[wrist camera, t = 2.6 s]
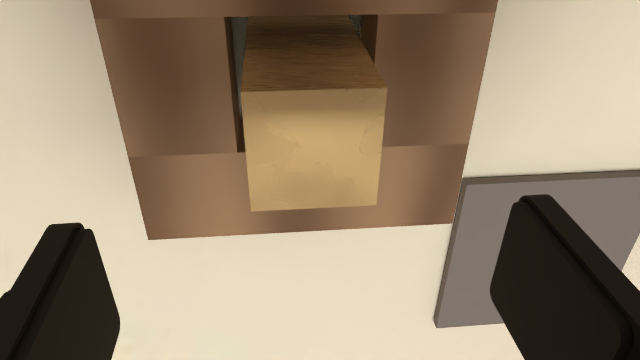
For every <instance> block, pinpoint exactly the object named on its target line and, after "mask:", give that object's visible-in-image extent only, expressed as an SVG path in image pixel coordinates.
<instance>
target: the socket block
mask: <svg viewBox="0 0 640 360" xmlns="http://www.w3.org/2000/svg"><path fill="white" fill-rule="evenodd" d="M90 2H91V6H92V10H93V14H94V19H95V23H96V27H97V31H98V35H99V39H100V43H101V47H102V51H103V56H104V60H105V64H106V68H107V72H108V76H109V80H110V84H111V88H112V93H113V97H114V101H115V105H116V109H117V113H118V117H119V121H120V125H121V130H122V134H123V138H124V142H125V146H126V150H127V154H128V158H129V162H130V166H131V171H132V175H133V179H134V183H135V187H136V191H137V195H138V199H139V203H140V208H141V212H142V216H143V220H144V224H145V228H146V232H147V236H148V240H157V239H175V238H193V237H212V236H230V235H248V234H267V233H285V232H303V231H322V230H340V229H358V228H377V227H395V226H413V225H432V224H450V223H452V222H453V217H454V212H455V208H456V203H457V198H458V193H459V188H460V183H461V178H462V173H463V168H464V164H465V159H466V154H467V149H468V144H469V139H470V134H471V129H472V125H473V120H474V115H475V110H476V105H477V100H478V95H479V90H480V85H481V81H482V76H483V71H484V66H485V61H486V56H487V51H488V46H489V42H490V37H491V32H492V27H493V22H494V17H495V12H496V7H497V2H498V0H90ZM313 15H363V17H362V34H361V41H362V43H363V45H364V47H365V48H366V50H367V52H368V54H369V56H370V57H371V59H372V61H373V63H374V65H375V66H376V68H377V70H378V72H379V74H380V75H381V77H382V79H383V81H384V83H385V84H386V86H387V97H386V108H385V119H384V130H383V141H382V151H381V162H380V173H379V184H378V194H377V205H371V206H351V207H332V208H312V209H292V210H272V211H253V212H251V208H250V196H249V185H248V173H247V161H246V150H245V138H244V127H243V120H240V111H239V100H238V89H237V78H236V67H235V56H234V45H233V34H232V22H231V17H249V16H313Z"/></svg>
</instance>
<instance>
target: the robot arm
mask: <svg viewBox="0 0 640 360" xmlns="http://www.w3.org/2000/svg"><path fill="white" fill-rule="evenodd" d="M490 296H491V299H492V302H493V304H494V305H495V307H496V309H497V311H498V313H499V314H500V316H501V318H502V320H503V322H504V323H505V325H506V327H507V329H508V331H509V332H510V334H511V336H512V338H513V340H514V341H515V343H516V345H517V347H518V349H519V350H520V352H521V354H522V356H523V357H524V359H525V360H640V291H639V290H638V289H637V288H636V287H635V286H634V285H633V284H632V283H631V281H630V280H629V279H628V278H627V277H626V276H625V275H624V274H623V273H622V272H621V271H620V270H619V268H618V267H617V266H616V265H615V264H614V263H613V262H612V261H611V260H610V259H609V258H608V257H607V255H606V254H605V253H604V252H603V251H602V250H601V249H600V248H599V247H598V246H597V245H596V244H595V243H594V241H593V240H592V239H591V238H590V237H589V236H588V235H587V234H586V233H585V232H584V231H583V230H582V228H581V227H580V226H579V225H578V224H577V223H576V222H575V221H574V220H573V219H572V218H571V217H570V215H569V214H568V213H567V212H566V211H565V210H564V209H563V208H562V207H561V206H560V205H559V204H558V203H557V201H556V200H555V199H554V198H553V197H552V196H550V195H548V194H540V195H524V196H522V197H521V198H520V199H519V201H518V202H515V203H514V204H513V205H512V207H511V211H510V214H509V218H508V222H507V225H506V229H505V233H504V236H503V240H502V244H501V247H500V251H499V255H498V259H497V262H496V266H495V270H494V273H493V277H492V281H491V284H490ZM119 330H120V317H119V313H118V310H117V307H116V304H115V301H114V297H113V294H112V291H111V288H110V284H109V281H108V278H107V275H106V272H105V268H104V265H103V262H102V259H101V256H100V252H99V249H98V246H97V243H96V240H95V236H94V234H93V231H92V230H91V229H84V227H83V225H82V224H81V223H65V224H51V225H49V226H48V227H47V229H46V230H45V232H44V234H43V235H42V237H41V239H40V241H39V242H38V244H37V246H36V247H35V249H34V251H33V253H32V254H31V256H30V258H29V259H28V261H27V263H26V264H25V266H24V268H23V270H22V271H21V273H20V275H19V276H18V278H17V280H16V281H15V283H14V285H13V287H12V288H11V290H9V291H8V292H6V293H4V294H3V296H2V297H1V298H0V360H111V358H112V355H113V352H114V348H115V345H116V342H117V338H118V335H119Z"/></svg>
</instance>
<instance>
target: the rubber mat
mask: <svg viewBox="0 0 640 360" xmlns="http://www.w3.org/2000/svg"><path fill="white" fill-rule="evenodd" d="M540 194H548V195H550V196H552V197H553V198H554V199H555V200H556V201H557V203H558V204H559V205H560V206H561V207H562V208H563V209H564V210H565V211H566V212H567V213H568V214H569V215H570V217H571V218H572V219H573V220H574V221H575V222H576V223H577V224H578V225H579V226H580V227H581V228H582V230H583V231H584V232H585V233H586V234H587V235H588V236H589V237H590V238H591V239H592V240H593V241H594V243H595V244H596V245H597V246H598V247H599V248H600V249H601V250H602V251H603V252H604V253H605V254H606V255H607V257H608V258H609V259H610V260H611V261H612V262H613V263H614V264H615V265H616V266H617V267H618V268H619V270H620V271H622V269H623V267H624V265H625V263H626V260H627V258H628V256H629V254H630V252H631V250H632V248H633V246H634V244H635V242H636V240H637V238H638V236H639V234H640V170H636V171H615V172H593V173H571V174H550V175H528V176H507V177H485V178H463V181H462V186H461V191H460V195H459V200H458V205H457V210H456V215H455V220H454V224H453V229H452V234H451V239H450V244H449V249H448V253H447V258H446V263H445V268H444V273H443V278H442V282H441V287H440V292H439V297H438V302H437V307H436V311H435V316H434V323H435V326H436V328H446V327H460V326H473V325H487V324H500V323H504V322H503V320H502V318H501V316H500V314H499V313H498V311H497V309H496V307H495V305H494V304H493V302H492V299H491V296H490V284H491V281H492V277H493V273H494V270H495V266H496V262H497V259H498V255H499V251H500V247H501V244H502V240H503V236H504V233H505V229H506V225H507V222H508V218H509V214H510V211H511V207H512V205H513V204H514V203H515V202H518V201H519V199H520V198H521V197H522V196H524V195H540Z"/></svg>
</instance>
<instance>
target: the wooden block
mask: <svg viewBox="0 0 640 360" xmlns="http://www.w3.org/2000/svg"><path fill="white" fill-rule="evenodd" d="M386 97H387V86H386V84H385V83H384V81H383V79H382V77H381V75H380V74H379V72H378V70H377V68H376V66H375V65H374V63H373V61H372V59H371V57H370V56H369V54H368V52H367V50H366V48H365V47H364V45H363V43H362V41H361V39H360V38H359V36H358V34H357V32H356V30H355V29H354V27H353V25H352V23H351V21H350V19H349V18H348V16H347V15H313V16H249V17H248V23H247V33H246V43H245V53H244V63H243V72H242V82H241V103H242V115H243V127H244V138H245V150H246V161H247V173H248V185H249V196H250V208H251V212H253V211H272V210H292V209H312V208H332V207H351V206H371V205H377V194H378V184H379V173H380V162H381V151H382V141H383V130H384V119H385V108H386Z"/></svg>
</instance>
